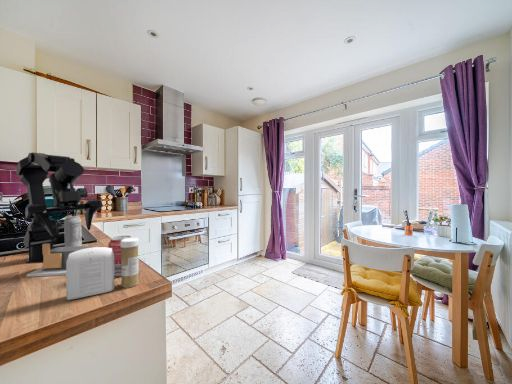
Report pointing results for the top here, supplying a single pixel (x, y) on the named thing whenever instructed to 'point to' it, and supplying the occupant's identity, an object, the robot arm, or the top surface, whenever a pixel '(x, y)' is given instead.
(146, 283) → the top surface
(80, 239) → the energy drink can
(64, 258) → the grey and white panel
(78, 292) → the grey rounded-corner block
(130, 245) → the sprinkles bottle
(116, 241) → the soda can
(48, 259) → the wooden block
